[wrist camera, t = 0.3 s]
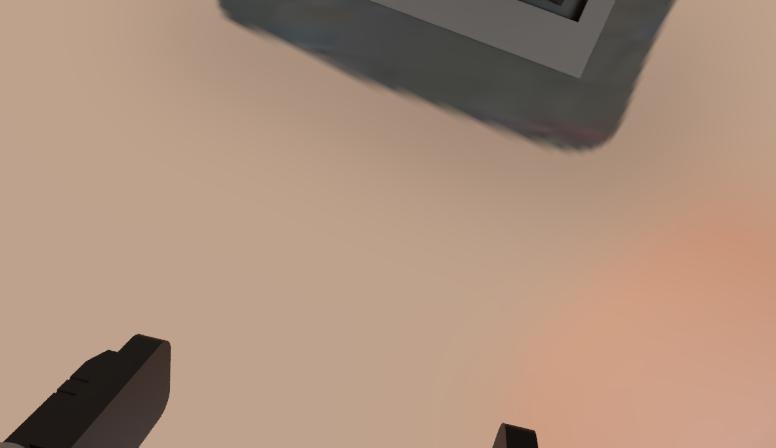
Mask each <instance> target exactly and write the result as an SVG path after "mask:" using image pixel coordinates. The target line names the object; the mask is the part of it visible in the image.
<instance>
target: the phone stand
mask: <svg viewBox="0 0 776 448" xmlns="http://www.w3.org/2000/svg"><path fill="white" fill-rule="evenodd" d="M549 1H551V2H553V3H555V4H557V5H560V6H561V5H562V3H563V1H564V0H549Z"/></svg>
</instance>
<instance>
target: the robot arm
mask: <svg viewBox="0 0 776 448" xmlns="http://www.w3.org/2000/svg"><path fill="white" fill-rule="evenodd" d="M170 357H171V346H170V343H169V342H168V341H165V340H161V339H157V338H153V337H149V336H144V335H141V334H137V335H135V336H133V337H132V338H131V339H130V340H129V341H128V342H127V343H126V344H125V345H124V346H123V348H121V349H120V350H119V351H118V352H115V351H111V350H107V351H105V352H103V353H101V354H99V355H97V356H95V357H93V358H91V359H90V360H88V361H86V362H85V363H84V364H83V365H82V366H81V367H80V368H79V369H78V370H77V371H76V372H75V373H74V374H73V375H72V376H71V377H70V379H69V380H66V382H64V383H63V384H62V385H61V386H60V387H59V388H58V389H57V392H56V393H53V394H52V395H51V396H50V397H49V398H48V399H47V400H46V401H45V402H44V403H43V404H42V405H41V406H40V407H39V408H38V409H37V410H36V411H35V412H34V413H33V414H32V415H30V416H29V417H28V418H27V420H25V421H24V422H23V423H22V424H21V425H20V426H19V427H18V428H17V429H16V430H15V431H14V432H13V433H12V434H11V435H10V436H9V437H8V438H7V439H6V440H5V441H4V442H0V448H139V446H140V445H141V443H142V442H143V441H144V439H145V438H146V437H147V435H148V434H149V432H150V431H151V430H152V428H153V427H154V425H155V424H156V423H157V421H158V420H159V418H160V417H161V415H162V414H163V411H164V410H165V407H166V405H167V401H168V398H169V393H170V361H171V358H170ZM493 448H538V443H537V437H536V433H535V431H534V430H530V429H526V428H522V427H517V426H514V425H509V424H505V423H502V424H501V426H500V428H499V431H498V433H497V436H496V439H495V442H494V445H493Z"/></svg>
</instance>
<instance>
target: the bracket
mask: <svg viewBox="0 0 776 448" xmlns="http://www.w3.org/2000/svg"><path fill="white" fill-rule="evenodd" d="M371 1H373V2H376V3H379V4H381V5H384V6H387V7H389V8H392V9H395V10H397V11H400V12H403V13H405V14H408V15H411V16H413V17H416V18H419V19H421V20H424V21H427V22H429V23H432V24H435V25H437V26H440V27H443V28H446V29H448V30H451V31H454V32H456V33H459V34H462V35H464V36H467V37H470V38H472V39H475V40H478V41H480V42H483V43H486V44H488V45H491V46H494V47H496V48H499V49H502V50H504V51H507V52H510V53H512V54H515V55H518V56H521V57H523V58H526V59H529V60H531V61H534V62H537V63H539V64H542V65H545V66H547V67H550V68H553V69H555V70H558V71H561V72H563V73H566V74H569V75H571V76H574V77H577V78H579V79H580V77H581V74H582V72H583V70H584V68H585V66H586V64H587V61H588V59H589V57H590V55H591V53H592V50H593V48H594V46H595V44H596V42H597V40H598V37H599V35H600V33H601V31H602V29H603V27H604V24H605V22H606V20H607V18H608V16H609V13H610V11H611V9H612V7H613V5H614V3H615V0H587V1H586V4H585V6H584V8H583V10H582V13H581V15H580V17H579V19H578V22H575V21H573V20H570V19H567V18H564V17H562V16H559V15H556V14H554V13H551V12H548V11H545V10H543V9H540V8H537V7H535V6H532V5H529V4H527V3H524V2H521V1H518V0H371Z"/></svg>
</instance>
